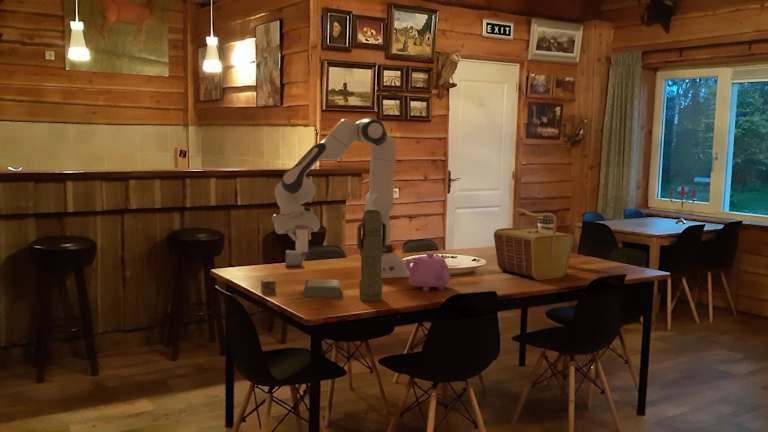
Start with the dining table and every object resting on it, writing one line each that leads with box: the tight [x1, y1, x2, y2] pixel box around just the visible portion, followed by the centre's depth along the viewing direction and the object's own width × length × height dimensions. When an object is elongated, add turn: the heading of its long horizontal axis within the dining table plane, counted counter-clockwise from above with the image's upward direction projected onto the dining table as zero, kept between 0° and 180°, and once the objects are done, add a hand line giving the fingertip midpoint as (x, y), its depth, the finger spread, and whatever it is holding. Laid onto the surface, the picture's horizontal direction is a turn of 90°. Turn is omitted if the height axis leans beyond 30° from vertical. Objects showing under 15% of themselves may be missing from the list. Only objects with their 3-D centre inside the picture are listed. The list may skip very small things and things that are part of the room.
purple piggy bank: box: [405, 252, 451, 292], centre depth 303 cm, size 20×20×15 cm
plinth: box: [303, 279, 341, 299], centre depth 291 cm, size 14×14×4 cm
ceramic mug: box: [284, 250, 304, 267], centre depth 350 cm, size 11×8×8 cm
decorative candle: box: [536, 215, 554, 231], centre depth 369 cm, size 9×9×25 cm
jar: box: [295, 225, 309, 253], centre depth 308 cm, size 5×5×11 cm
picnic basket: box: [493, 208, 575, 281], centre depth 339 cm, size 29×26×30 cm
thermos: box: [356, 210, 386, 303], centre depth 281 cm, size 9×12×35 cm
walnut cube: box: [260, 278, 277, 295], centre depth 292 cm, size 5×5×5 cm
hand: (302, 239), depth 307 cm, fingers closed on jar, 5 cm apart
